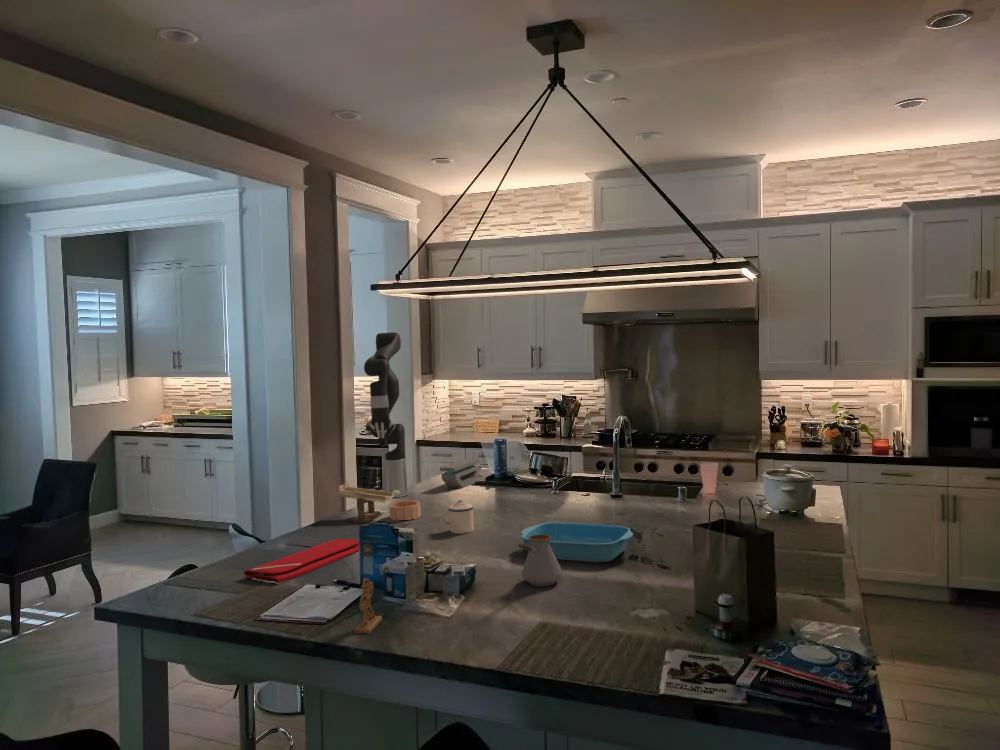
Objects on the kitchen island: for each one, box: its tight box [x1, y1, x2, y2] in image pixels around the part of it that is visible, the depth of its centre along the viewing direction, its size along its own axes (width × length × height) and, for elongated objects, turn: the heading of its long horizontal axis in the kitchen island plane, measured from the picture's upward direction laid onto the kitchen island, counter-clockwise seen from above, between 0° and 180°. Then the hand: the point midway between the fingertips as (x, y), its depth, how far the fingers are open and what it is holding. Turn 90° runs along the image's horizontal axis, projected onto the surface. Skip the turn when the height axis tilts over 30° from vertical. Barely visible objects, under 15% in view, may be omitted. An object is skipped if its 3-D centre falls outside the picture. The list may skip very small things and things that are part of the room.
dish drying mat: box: [243, 538, 360, 583], centre depth 244 cm, size 16×41×4 cm, turn 150°
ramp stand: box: [352, 497, 381, 523], centre depth 302 cm, size 14×6×10 cm, turn 169°
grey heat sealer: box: [439, 457, 481, 489], centre depth 358 cm, size 25×8×11 cm, turn 153°
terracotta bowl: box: [388, 500, 422, 521], centre depth 299 cm, size 12×12×6 cm
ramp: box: [337, 482, 400, 504], centre depth 307 cm, size 18×20×4 cm
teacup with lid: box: [440, 498, 475, 535], centre depth 273 cm, size 12×9×12 cm
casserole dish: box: [520, 521, 634, 563], centre depth 237 cm, size 37×22×7 cm, turn 63°
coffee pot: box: [514, 534, 563, 587], centre depth 206 cm, size 21×12×15 cm, turn 156°
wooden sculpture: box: [354, 577, 383, 634], centre depth 186 cm, size 9×4×12 cm, turn 168°
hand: (382, 446), depth 315 cm, fingers closed
